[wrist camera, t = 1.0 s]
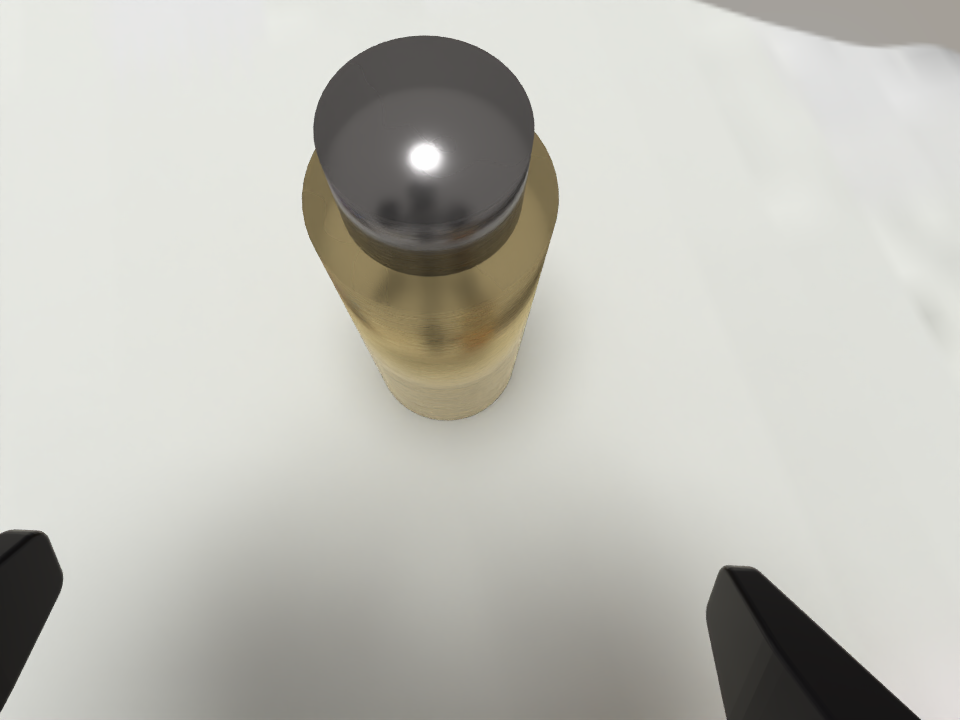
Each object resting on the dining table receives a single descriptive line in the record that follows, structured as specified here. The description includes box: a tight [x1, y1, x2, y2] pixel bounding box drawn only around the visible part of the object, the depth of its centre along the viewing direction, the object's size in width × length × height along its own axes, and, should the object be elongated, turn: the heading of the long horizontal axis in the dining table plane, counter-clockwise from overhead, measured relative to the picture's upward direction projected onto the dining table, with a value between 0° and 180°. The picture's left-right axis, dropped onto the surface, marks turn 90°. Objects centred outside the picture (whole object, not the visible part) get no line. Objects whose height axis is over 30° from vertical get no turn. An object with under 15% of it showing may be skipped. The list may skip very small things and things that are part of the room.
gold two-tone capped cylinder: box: [302, 36, 559, 420], centre depth 16 cm, size 5×5×13 cm
